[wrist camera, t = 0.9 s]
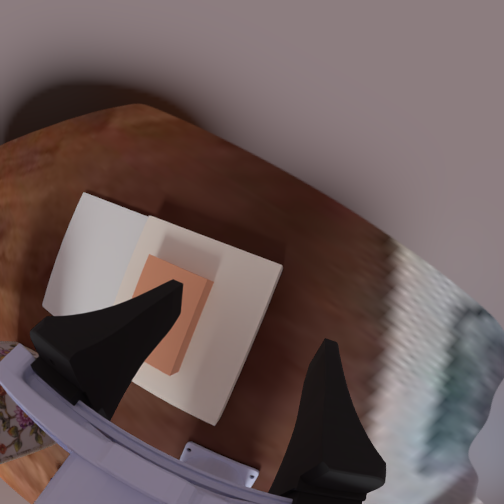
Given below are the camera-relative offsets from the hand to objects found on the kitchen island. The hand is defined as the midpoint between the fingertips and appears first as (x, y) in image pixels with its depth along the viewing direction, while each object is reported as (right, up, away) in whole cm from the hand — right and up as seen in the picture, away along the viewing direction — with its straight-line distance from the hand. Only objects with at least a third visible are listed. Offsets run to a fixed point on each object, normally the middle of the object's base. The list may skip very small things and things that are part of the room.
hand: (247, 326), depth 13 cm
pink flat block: (-8, -2, +12) cm, 14 cm away
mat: (-19, +2, +16) cm, 25 cm away
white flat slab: (-6, -3, +14) cm, 15 cm away
